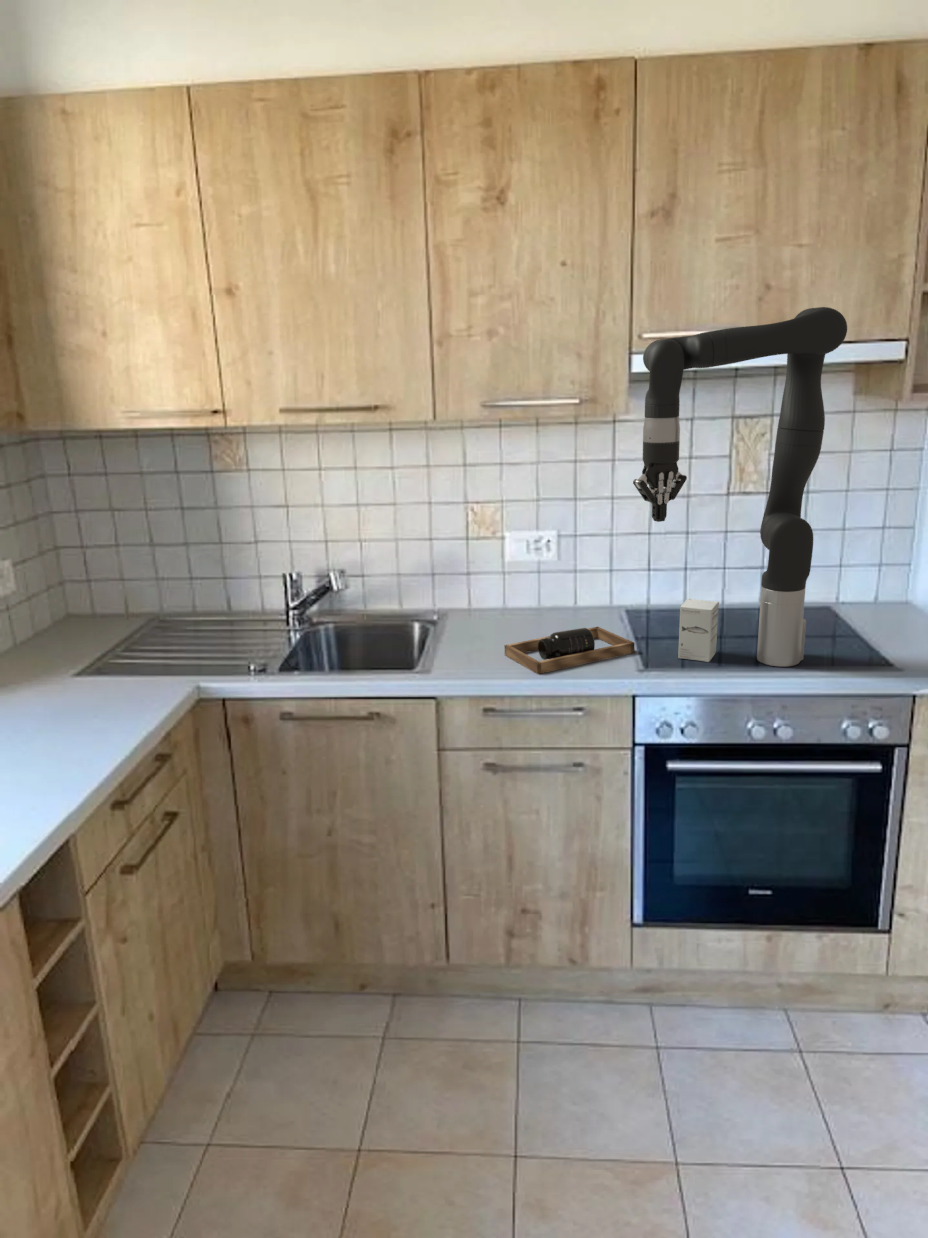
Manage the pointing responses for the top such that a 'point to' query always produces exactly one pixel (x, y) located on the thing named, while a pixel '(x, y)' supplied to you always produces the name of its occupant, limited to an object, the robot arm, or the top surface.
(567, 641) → the supplement bottle
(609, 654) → the walnut frame
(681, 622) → the supplement box
